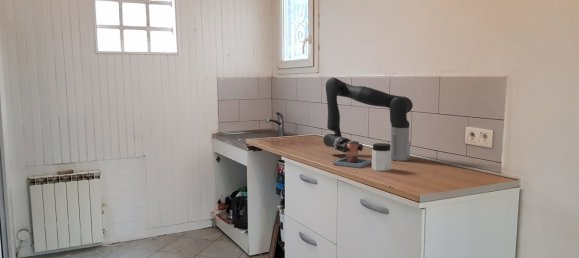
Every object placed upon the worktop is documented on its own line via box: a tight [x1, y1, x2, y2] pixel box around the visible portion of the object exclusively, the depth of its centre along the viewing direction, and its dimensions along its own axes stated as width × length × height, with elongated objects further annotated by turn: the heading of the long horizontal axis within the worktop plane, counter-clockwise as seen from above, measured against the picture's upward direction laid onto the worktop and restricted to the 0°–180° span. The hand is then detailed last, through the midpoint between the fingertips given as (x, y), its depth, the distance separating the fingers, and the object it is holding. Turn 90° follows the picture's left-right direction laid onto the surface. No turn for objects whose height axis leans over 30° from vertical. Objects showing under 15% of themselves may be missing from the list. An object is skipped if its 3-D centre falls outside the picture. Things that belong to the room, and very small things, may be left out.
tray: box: [333, 156, 372, 169], centre depth 221 cm, size 14×14×2 cm
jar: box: [371, 142, 392, 172], centre depth 208 cm, size 9×8×12 cm
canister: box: [346, 140, 359, 164], centre depth 221 cm, size 6×6×11 cm
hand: (354, 149), depth 219 cm, fingers open, 7 cm apart
